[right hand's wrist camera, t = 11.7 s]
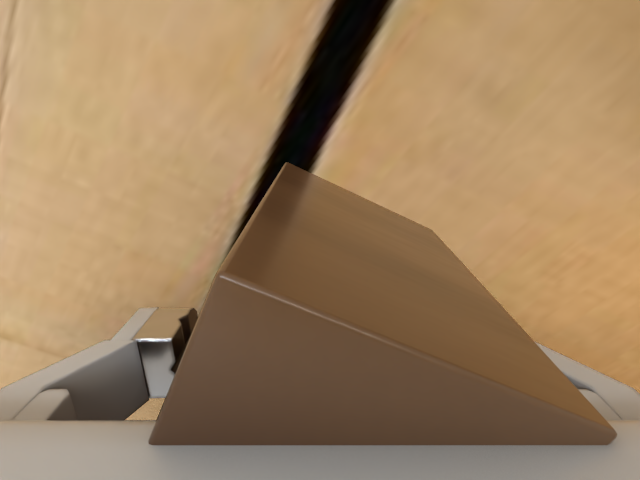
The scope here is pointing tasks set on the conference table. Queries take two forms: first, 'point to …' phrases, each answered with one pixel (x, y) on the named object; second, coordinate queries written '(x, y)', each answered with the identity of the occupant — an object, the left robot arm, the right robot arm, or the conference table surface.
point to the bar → (360, 340)
